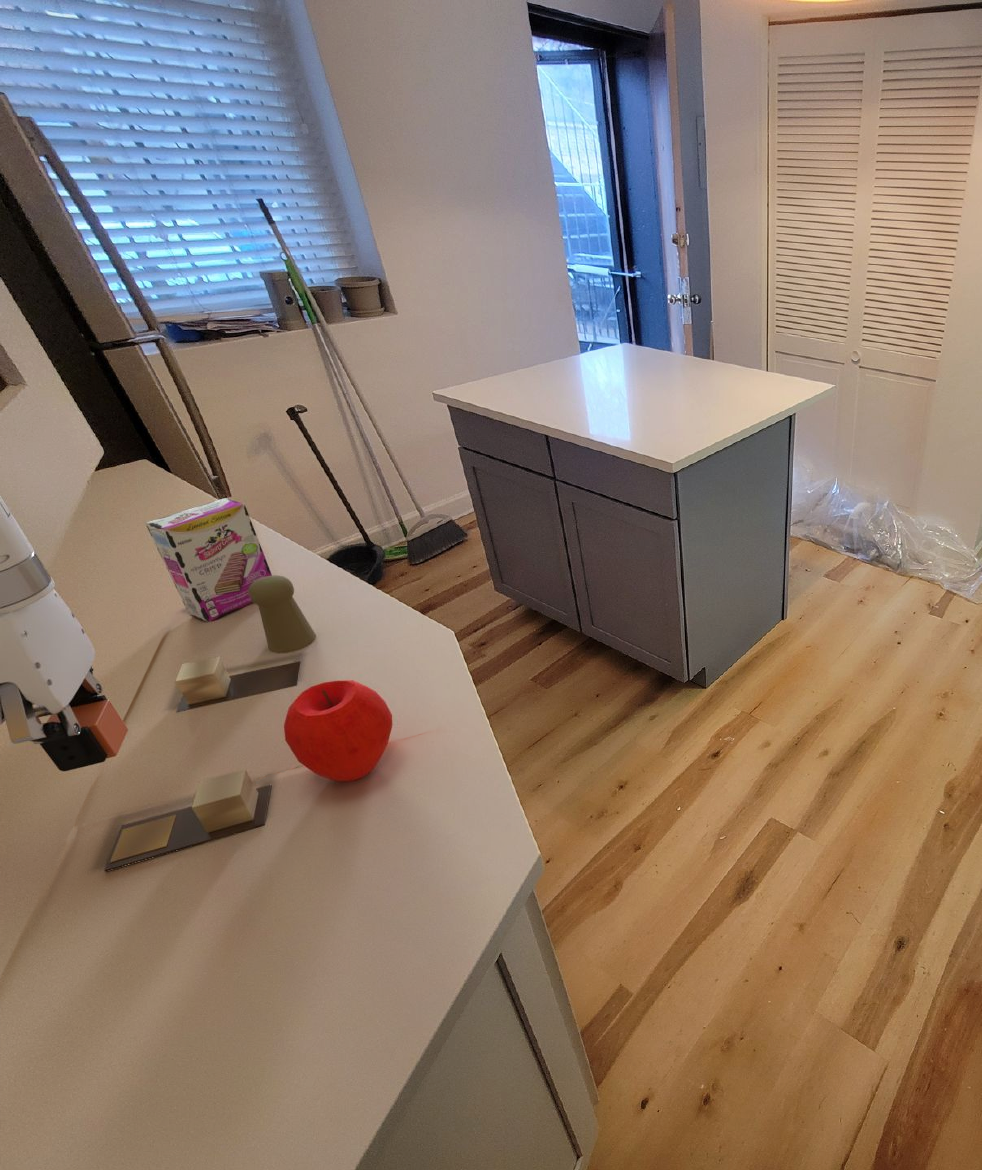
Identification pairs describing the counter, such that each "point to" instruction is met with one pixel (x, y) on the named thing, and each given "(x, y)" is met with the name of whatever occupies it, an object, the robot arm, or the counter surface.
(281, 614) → the olive green shaker
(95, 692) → the robot arm
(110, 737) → the orange rounded box
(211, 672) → the grey rectangular tray
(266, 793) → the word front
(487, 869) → the counter surface
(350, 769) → the apple
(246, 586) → the candy bar box
